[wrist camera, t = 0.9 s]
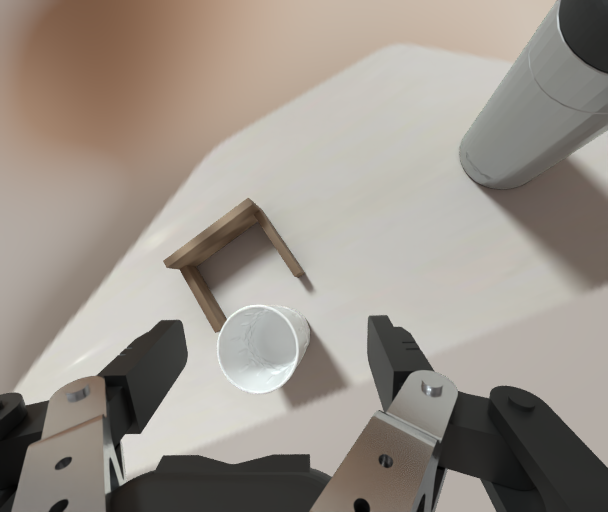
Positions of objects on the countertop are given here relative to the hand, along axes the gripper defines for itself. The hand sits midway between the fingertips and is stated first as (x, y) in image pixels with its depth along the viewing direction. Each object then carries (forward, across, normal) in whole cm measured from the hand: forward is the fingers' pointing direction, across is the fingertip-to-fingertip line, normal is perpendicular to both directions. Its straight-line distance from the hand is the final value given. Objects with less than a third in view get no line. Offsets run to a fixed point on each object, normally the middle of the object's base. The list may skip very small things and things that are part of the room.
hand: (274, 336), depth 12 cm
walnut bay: (+25, +7, +5) cm, 26 cm away
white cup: (+21, +2, +12) cm, 24 cm away
